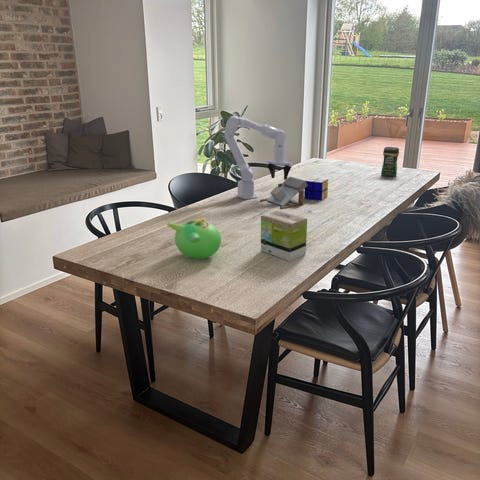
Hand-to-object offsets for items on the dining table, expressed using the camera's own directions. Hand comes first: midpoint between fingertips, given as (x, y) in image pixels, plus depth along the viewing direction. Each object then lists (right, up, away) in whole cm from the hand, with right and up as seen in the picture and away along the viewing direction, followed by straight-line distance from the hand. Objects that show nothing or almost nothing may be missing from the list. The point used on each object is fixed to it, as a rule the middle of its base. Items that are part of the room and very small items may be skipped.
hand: (279, 178), depth 264 cm
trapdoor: (+4, -9, -7) cm, 12 cm away
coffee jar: (+75, +8, +53) cm, 93 cm away
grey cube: (0, -11, -9) cm, 14 cm away
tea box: (-5, -38, -77) cm, 86 cm away
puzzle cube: (+20, -10, +2) cm, 23 cm away
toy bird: (-37, -40, -79) cm, 96 cm away
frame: (+1, -14, -8) cm, 16 cm away
